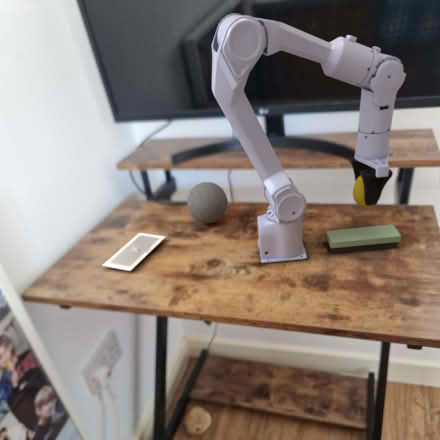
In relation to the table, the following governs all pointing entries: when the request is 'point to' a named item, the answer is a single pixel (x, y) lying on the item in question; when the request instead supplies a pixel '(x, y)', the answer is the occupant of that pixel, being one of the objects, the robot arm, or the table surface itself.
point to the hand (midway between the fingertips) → (366, 198)
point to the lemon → (360, 193)
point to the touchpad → (134, 251)
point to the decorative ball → (207, 202)
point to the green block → (363, 238)
